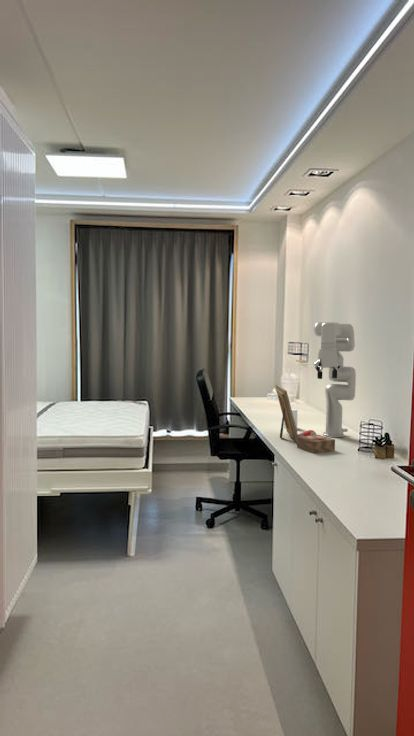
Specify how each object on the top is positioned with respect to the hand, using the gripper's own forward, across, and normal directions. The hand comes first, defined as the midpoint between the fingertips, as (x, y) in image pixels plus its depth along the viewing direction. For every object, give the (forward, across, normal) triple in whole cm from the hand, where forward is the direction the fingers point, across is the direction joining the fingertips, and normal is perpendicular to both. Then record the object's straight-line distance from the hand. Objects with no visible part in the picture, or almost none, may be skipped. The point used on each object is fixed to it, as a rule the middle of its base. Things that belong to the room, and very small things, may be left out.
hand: (327, 378), depth 282 cm
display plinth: (+38, +6, -1) cm, 38 cm away
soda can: (+34, -4, -16) cm, 38 cm away
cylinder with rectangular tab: (+39, -17, -58) cm, 71 cm away
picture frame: (+38, +4, -30) cm, 49 cm away
